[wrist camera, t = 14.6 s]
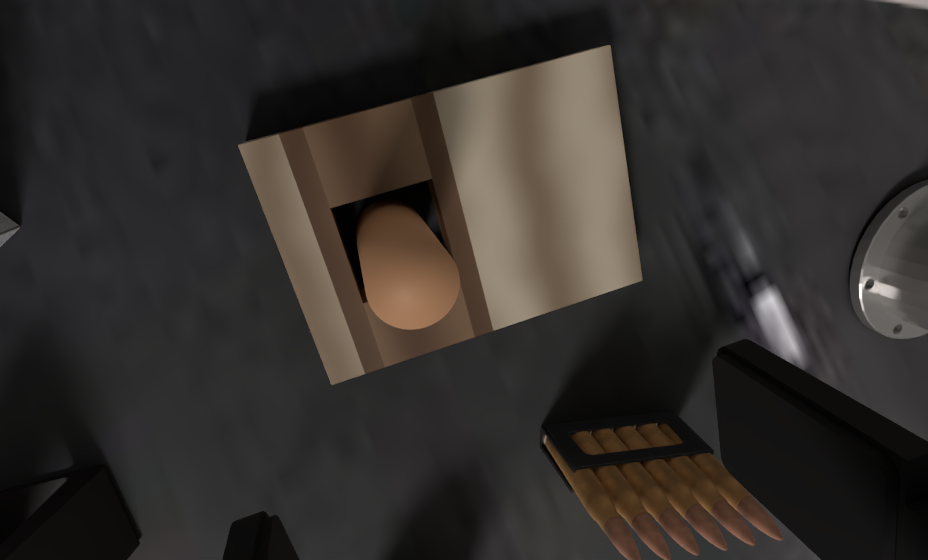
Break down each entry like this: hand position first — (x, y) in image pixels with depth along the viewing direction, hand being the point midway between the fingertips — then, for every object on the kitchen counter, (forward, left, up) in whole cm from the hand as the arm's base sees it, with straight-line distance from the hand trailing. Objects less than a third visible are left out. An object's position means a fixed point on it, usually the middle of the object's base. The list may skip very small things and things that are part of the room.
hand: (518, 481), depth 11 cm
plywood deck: (-4, 0, -23) cm, 23 cm away
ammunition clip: (-11, +19, -23) cm, 32 cm away
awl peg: (0, 0, -23) cm, 23 cm away
